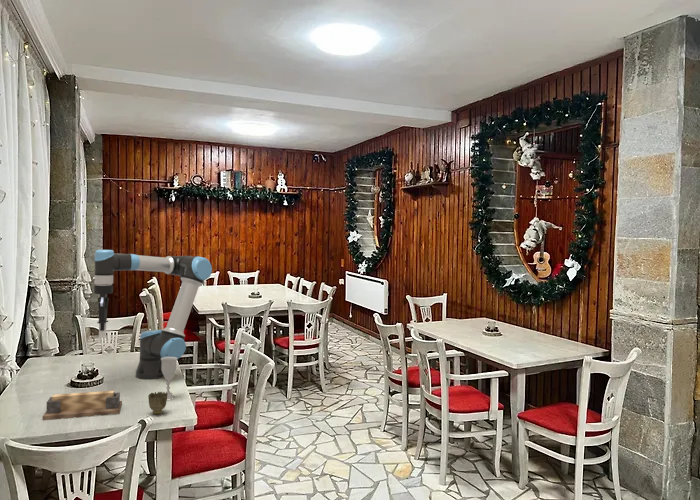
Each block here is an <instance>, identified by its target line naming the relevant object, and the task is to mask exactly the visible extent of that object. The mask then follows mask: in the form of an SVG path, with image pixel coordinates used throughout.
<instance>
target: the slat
mask: <svg viewBox="0 0 700 500" xmlns="http://www.w3.org/2000/svg"><path fill="white" fill-rule="evenodd" d="M114 393H115V390H104V391H103V390H101V391H89V392H88V391H87V392H86V391H85V392H72V393H70V392H69V393H61V394H60V393H57V394H53V395H52V396H51V397H52V401H60V400H61V407H60V411H71V410H84V409H97V408H106V397H114Z"/></svg>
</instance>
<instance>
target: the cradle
mask: <svg viewBox="0 0 700 500" xmlns="http://www.w3.org/2000/svg"><path fill="white" fill-rule="evenodd" d="M120 398H121V392H120V391H119V392H114V397H106V408H97V409H84V410H71V411H60V407H61V400H60V401H52V396H50V397H49V399H47V401H46V411H45V412H44V414H43V415H42V421H47V420H48V421H49V420H61V418H64V419H73V418H74V417H76V418H83V417H82V416H88V417H95V416H94V415H101V416H109V415H108V414H113V415H120V413H121V409H122V405H123V401H122V400H121V399H120Z"/></svg>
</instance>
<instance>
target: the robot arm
mask: <svg viewBox="0 0 700 500" xmlns="http://www.w3.org/2000/svg"><path fill="white" fill-rule="evenodd" d="M93 261H94V277H92V279H93V282H94V285H93V293H94V294H95V295H99V297H98V298H97V304H98V321H97V322H96V323H97V324H98V338H99V339H105V338H107V323H109V320H108V306H109V300H110V299H109V298H110V297H108V295H112V294H113V293H114V286H113V284H114V272H117V271H143V272H144V271H145V272H159V273H164V274H166V275H172V276H178V277H180V280H181V286H180V288H179V291H178V293H177V297H176V299H175V302H174V305H173V307H172V310H171V313H170V315H169V319H168V322H167V324H166V327H165V328H162V329H154V330H146V331H145V330H144V331H142V332H141V333H140V336H139V362H138V364H137V367H136V369H135V378H137V379H142V380H152V379H153V380H154V379H160V378H163V377H164V375H163V373H162V370H161V367H162V361H161V358H163V357H176V358H177V360H179V359H180V358H182V357H183V355H184V354H185V352H186V348H187V344H186V341H185V338H186V335H185V333H184V332H185V328H186V325H187V322H188V319H189V316H190V314H191V310H192V308H193V305H194V302H195V299H196V297H197V294H198V291H199V288H200V287H201V286H203V285H204V283H205V281H206V280H208V279H209V278H210V277H211V275H212V272H213V267H212V264H211V262H210V261H209V259H208V258H206V257H202V256H199V255H197V256H192V255H177V256H175V255H173V256H172V255H167V256H165V257H161V256H154V255H153V256H151V255H139V254H136V253H135V254H134V253H119V252H118V253H116V252H114V250H113V249H97V250H96V251H95V253H94V260H93ZM164 378H165V377H164Z"/></svg>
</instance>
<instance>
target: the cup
mask: <svg viewBox="0 0 700 500" xmlns="http://www.w3.org/2000/svg"><path fill="white" fill-rule="evenodd" d="M167 395H168V394H167V391H158V392H156V391H155V392H154V393H153V392H151V393H149V394H148V405H149V408H150V410H151V411H152V413H154V414H153V415H160V414H159V413H161V414H163V410H164V409H165V408H166V406H167V402H168V400H167Z"/></svg>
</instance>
